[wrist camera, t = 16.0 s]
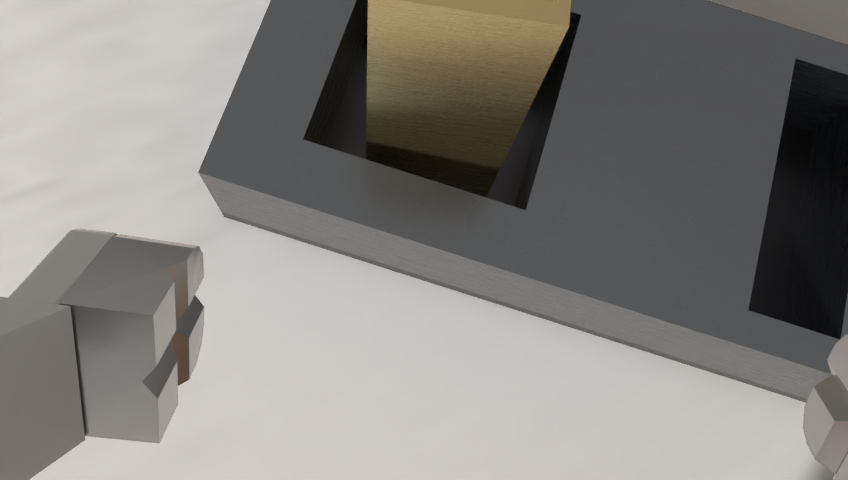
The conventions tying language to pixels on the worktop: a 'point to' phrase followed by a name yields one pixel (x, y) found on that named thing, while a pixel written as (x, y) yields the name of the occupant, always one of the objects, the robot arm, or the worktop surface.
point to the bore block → (585, 181)
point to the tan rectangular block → (455, 82)
